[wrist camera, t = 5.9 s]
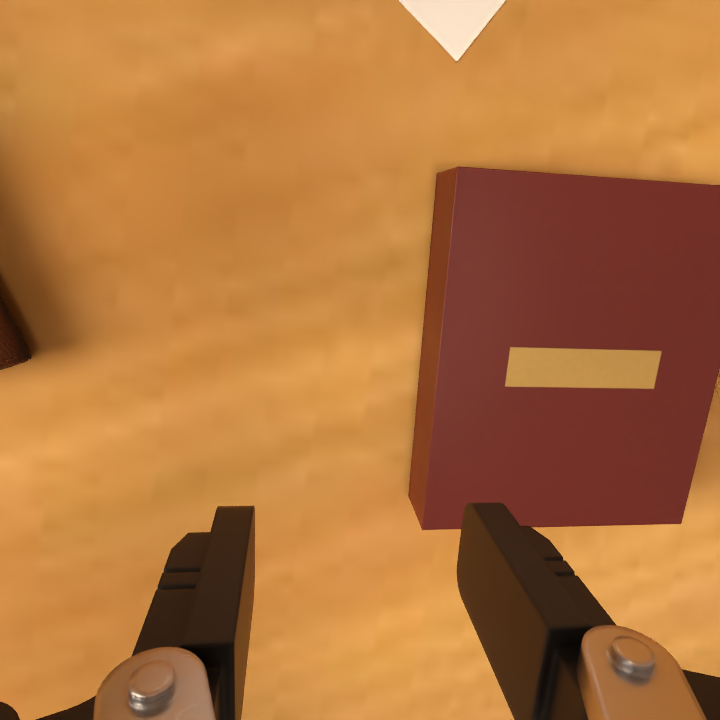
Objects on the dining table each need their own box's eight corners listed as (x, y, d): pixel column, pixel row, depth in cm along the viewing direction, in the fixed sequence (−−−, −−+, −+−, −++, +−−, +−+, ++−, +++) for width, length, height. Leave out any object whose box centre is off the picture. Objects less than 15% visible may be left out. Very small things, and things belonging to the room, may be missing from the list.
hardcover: (408, 496, 30) (421, 530, 27) (436, 172, 26) (457, 166, 22) (642, 493, 32) (682, 524, 29) (708, 191, 28) (765, 188, 24)
